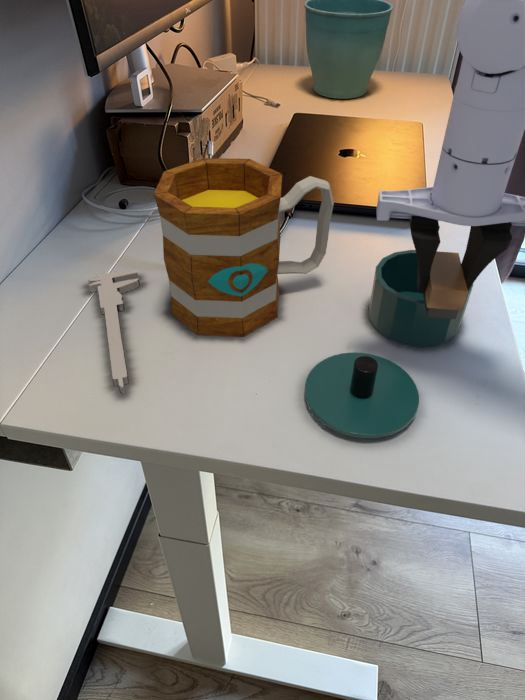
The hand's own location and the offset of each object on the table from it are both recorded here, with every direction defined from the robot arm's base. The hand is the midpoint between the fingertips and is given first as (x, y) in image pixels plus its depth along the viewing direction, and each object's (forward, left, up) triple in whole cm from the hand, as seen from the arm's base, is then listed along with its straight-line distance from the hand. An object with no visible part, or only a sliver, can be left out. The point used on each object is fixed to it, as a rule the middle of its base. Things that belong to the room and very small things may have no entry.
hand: (441, 287), depth 53 cm
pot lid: (+7, +8, -8) cm, 13 cm away
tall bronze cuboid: (0, 0, -1) cm, 1 cm away
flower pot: (+12, -86, -9) cm, 87 cm away
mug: (+20, -7, -9) cm, 23 cm away
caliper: (+32, 0, -8) cm, 33 cm away
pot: (+1, -6, -8) cm, 10 cm away
